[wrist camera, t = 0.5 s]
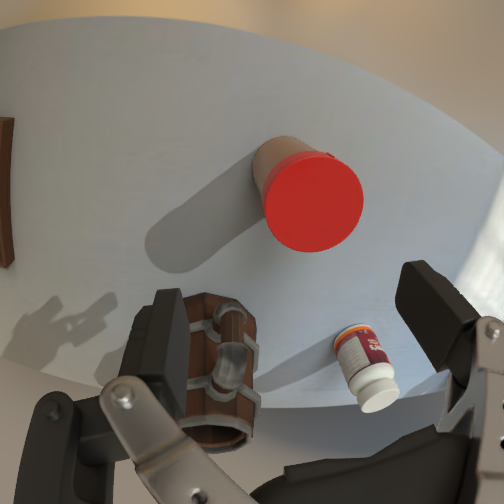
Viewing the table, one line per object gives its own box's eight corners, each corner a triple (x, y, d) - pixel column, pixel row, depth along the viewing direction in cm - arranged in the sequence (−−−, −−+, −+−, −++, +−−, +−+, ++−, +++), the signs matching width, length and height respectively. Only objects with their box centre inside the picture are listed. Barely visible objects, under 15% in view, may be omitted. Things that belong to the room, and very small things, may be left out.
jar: (264, 127, 25) (287, 144, 16) (324, 148, 26) (371, 176, 18) (243, 188, 27) (255, 234, 19) (302, 205, 29) (335, 254, 20)
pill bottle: (379, 330, 40) (411, 390, 30) (349, 356, 42) (374, 417, 32) (355, 316, 37) (389, 382, 27) (323, 344, 39) (347, 412, 30)
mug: (239, 365, 40) (250, 463, 27) (153, 349, 37) (139, 450, 24) (284, 277, 33) (321, 390, 20) (175, 250, 30) (151, 368, 17)
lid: (280, 135, 17) (287, 139, 16) (366, 168, 19) (379, 175, 17) (248, 227, 20) (251, 240, 19) (330, 248, 22) (339, 261, 20)
